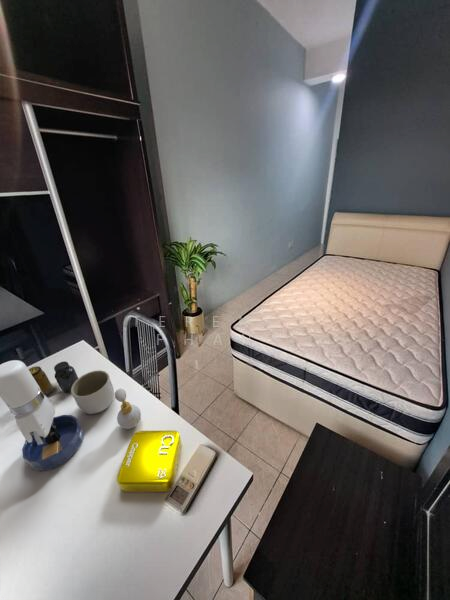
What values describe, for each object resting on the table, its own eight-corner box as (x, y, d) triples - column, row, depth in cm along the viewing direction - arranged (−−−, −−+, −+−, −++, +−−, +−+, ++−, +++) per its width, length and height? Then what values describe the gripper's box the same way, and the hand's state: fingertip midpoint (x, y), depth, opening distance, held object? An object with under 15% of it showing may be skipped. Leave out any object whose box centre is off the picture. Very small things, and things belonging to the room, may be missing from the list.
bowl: (21, 479, 71) (13, 470, 68) (38, 432, 84) (32, 423, 81) (79, 460, 75) (73, 451, 72) (87, 418, 87) (82, 409, 85)
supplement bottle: (58, 391, 99) (46, 369, 93) (72, 379, 105) (62, 357, 99) (70, 395, 97) (59, 373, 91) (84, 383, 103) (74, 361, 97)
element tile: (137, 438, 80) (133, 429, 78) (182, 438, 79) (180, 429, 77) (118, 492, 67) (113, 483, 64) (172, 492, 66) (169, 483, 64)
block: (47, 466, 73) (41, 459, 71) (48, 453, 76) (42, 447, 74) (62, 459, 75) (57, 452, 73) (62, 447, 78) (58, 440, 75)
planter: (123, 397, 95) (116, 376, 90) (96, 423, 85) (86, 402, 80) (102, 386, 100) (94, 366, 95) (73, 410, 91) (62, 389, 86)
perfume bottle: (130, 437, 80) (121, 412, 75) (111, 424, 85) (101, 400, 79) (147, 418, 86) (139, 395, 80) (128, 407, 91) (119, 384, 85)
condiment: (34, 391, 100) (21, 369, 94) (58, 381, 104) (47, 359, 98) (35, 403, 95) (21, 380, 89) (60, 391, 99) (48, 369, 93)
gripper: (21, 385, 73) (48, 423, 82) (-1, 429, 60) (33, 469, 69) (50, 377, 75) (72, 416, 84) (33, 419, 62) (62, 459, 71)
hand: (54, 440), depth 76 cm, fingers closed
